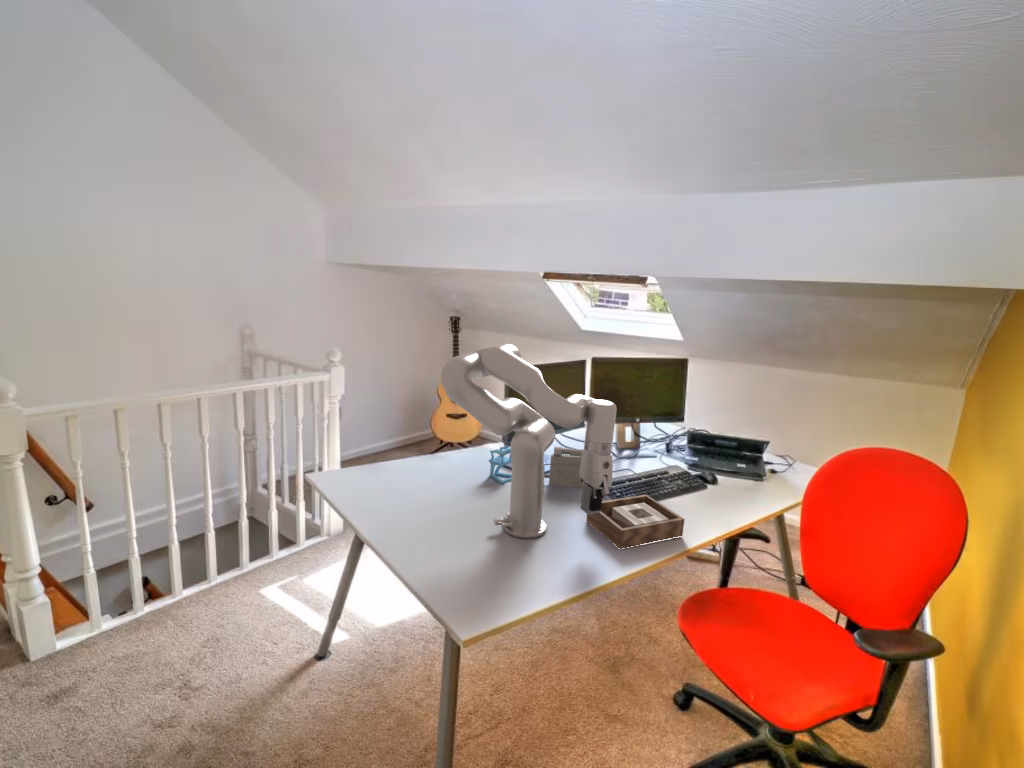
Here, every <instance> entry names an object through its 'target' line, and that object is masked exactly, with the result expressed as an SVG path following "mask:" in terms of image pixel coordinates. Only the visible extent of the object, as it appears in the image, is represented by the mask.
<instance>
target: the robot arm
mask: <svg viewBox="0 0 1024 768" xmlns="http://www.w3.org/2000/svg"><path fill="white" fill-rule="evenodd" d="M489 376H490V377H491V376H492V377H493V378H495V379H496V380H498V381H499V382H501V383H503V384H505V385H506V386H508V387H509V388H510V389H512V390H514V391H515V392H517V393H519V394H520V395H521V396H523V397H524V399H525V400H526V401H527V402H528V404H530V406H529V405H528V404H526V403H525V402H524V401H522V400H521V399H518V398H515V397H505V398H503V399H501V400H500V399H499V398H497V397H496V396H494V395H493V394H491V393H490V391H488V390H487V389H485V388H483V387H482V386H479V385H477V384H476V383H474V381H475V380H478V379H481V378H485V377H489ZM440 380H441V385H442V386H441V387H442V388H443V391H444V393H445V394H446V395H447V397H448V398H449V399H450V400H451V401H452V402H453V403H454V404H456V405H457V406H458V407H460V408H461V409H463V411H465V412H467V414H469V415H470V416H471V417H473V418H474V419H475V420H476V421H478V422H479V423H480V424H481V425H483V426H484V427H485V428H486V429H488V430H489V431H490V432H491V433H493V434H494V435H496V436H502V437H503V436H506V435H508V434H510V433H512V432H514V435H513V437H512V438H511V441H510V448H511V453H510V454H511V458H512V463H511V475H512V476H511V481H510V484H511V485H510V499H509V500H510V502H509V512H506V516H505V515H504V516H503V517H499V518H494V519H493V524H494V526H496V527H497V526H501V528H502V529H503V530H505V532H506V533H507V534H508V535H510V536H513V537H516V538H520V539H535V538H539V537H541V536H542V535H544V534H545V533H546V532H547V524H546V523H545V521H544V520H543V519H542V518H543V516H542V515H543V505H544V504H543V502H544V489H545V488H544V487H545V486H544V485H545V478H544V474H545V466H544V464H545V460H544V459H545V458H544V456H545V452H546V451H547V450H548V449H549V448H550V447H551V446H552V444H553V443H554V441H555V439H556V431H555V428H554V427H553V425H552V423H553V424H555V425H557V426H559V427H561V428H563V429H574V428H577V427H579V425H580V424H581V423H583V422H585V423H586V425H585V428H586V429H585V435H584V444H583V445H584V446H583V449H582V450H583V453H582V458H581V463H580V472H579V476H580V478H581V482H582V488H581V489H582V491H583V483H584V482H587V483H588V484H589V485H591V486H592V487H593V497H592V498H591V505H590V511H599V510H601V503H602V501H603V499H604V498H605V496H607V495H610V490H609V489H610V488H611V487H612V482H613V472H614V471H613V469H614V468H613V467H614V462H613V458H614V457H613V453H612V450H613V443H614V433H615V427H616V418H617V405H616V403H614V402H612V401H610V400H606V399H596V398H593V397H590V396H586V395H583V394H580V393H574V394H571V395H569V396H568V397H566V398H564V397H563V396H561V395H560V394H559V393H557V392H555V391H554V390H553V389H552V388H550V387H549V386H548V385H547V384H546V382H545V380H544V377H543V373H542V371H541V370H540V369H539V368H538V367H535V366H534V365H532V364H530V363H529V362H527V361H526V360H524V359H523V358H522V356H521V352H520V351H519V349H518V348H517V347H516V346H515V345H513V344H511V343H500V344H498V345H494V346H490V347H487V348H486V347H485V348H482V349H478V350H473V351H468V352H466V353H462V354H459V355H456V356H454V357H451V358H449V359H448V360H447V361H446V362H445V363H444V364H443V367H442V368H441V373H440ZM549 421H550V422H549ZM551 422H552V423H551ZM597 490H600V492H598V493H597ZM581 500H582V498H581ZM581 500H580V501H581Z"/></svg>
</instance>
